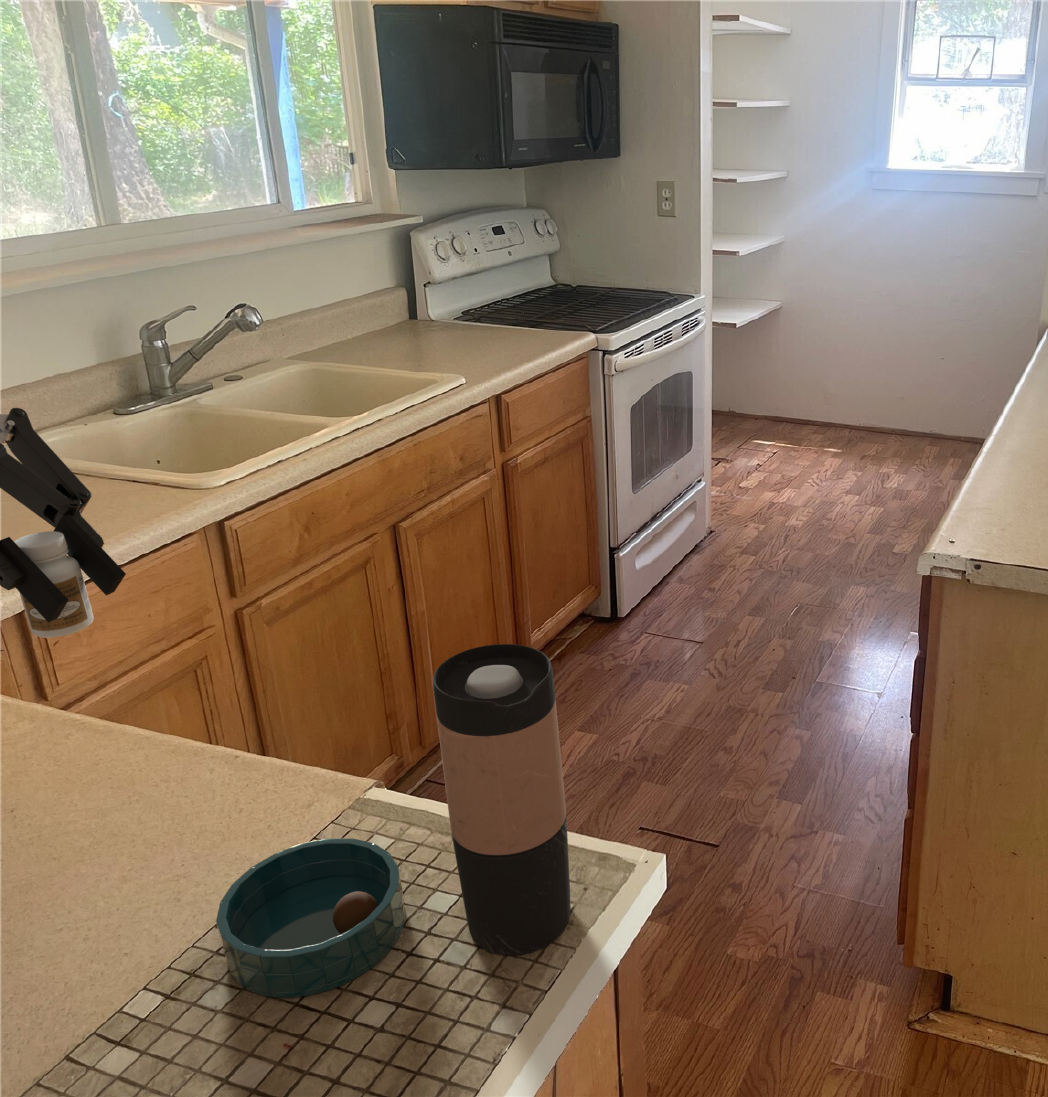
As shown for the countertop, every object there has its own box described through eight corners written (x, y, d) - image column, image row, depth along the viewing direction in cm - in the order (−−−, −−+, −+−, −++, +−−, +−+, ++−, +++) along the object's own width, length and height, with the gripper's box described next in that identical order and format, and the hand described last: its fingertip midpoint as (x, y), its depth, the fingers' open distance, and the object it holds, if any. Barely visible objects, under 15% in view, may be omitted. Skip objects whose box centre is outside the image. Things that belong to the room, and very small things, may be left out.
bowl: (248, 1027, 64) (237, 984, 63) (212, 918, 73) (201, 879, 71) (428, 946, 70) (422, 906, 69) (375, 855, 79) (369, 818, 78)
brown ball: (319, 910, 69) (362, 904, 68) (339, 885, 72) (379, 880, 71) (332, 949, 69) (373, 943, 69) (350, 923, 72) (391, 917, 72)
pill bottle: (31, 644, 81) (4, 554, 78) (32, 623, 84) (5, 535, 81) (95, 630, 83) (71, 542, 80) (93, 610, 86) (70, 524, 83)
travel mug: (492, 875, 77) (463, 637, 69) (589, 889, 75) (570, 648, 68) (445, 950, 70) (407, 695, 62) (551, 966, 68) (526, 708, 61)
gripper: (-26, 381, 89) (161, 580, 90) (-263, 436, 74) (-35, 673, 75) (0, 323, 86) (195, 531, 87) (-244, 368, 70) (-5, 619, 72)
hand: (87, 597), depth 81 cm, fingers closed on pill bottle, 4 cm apart
